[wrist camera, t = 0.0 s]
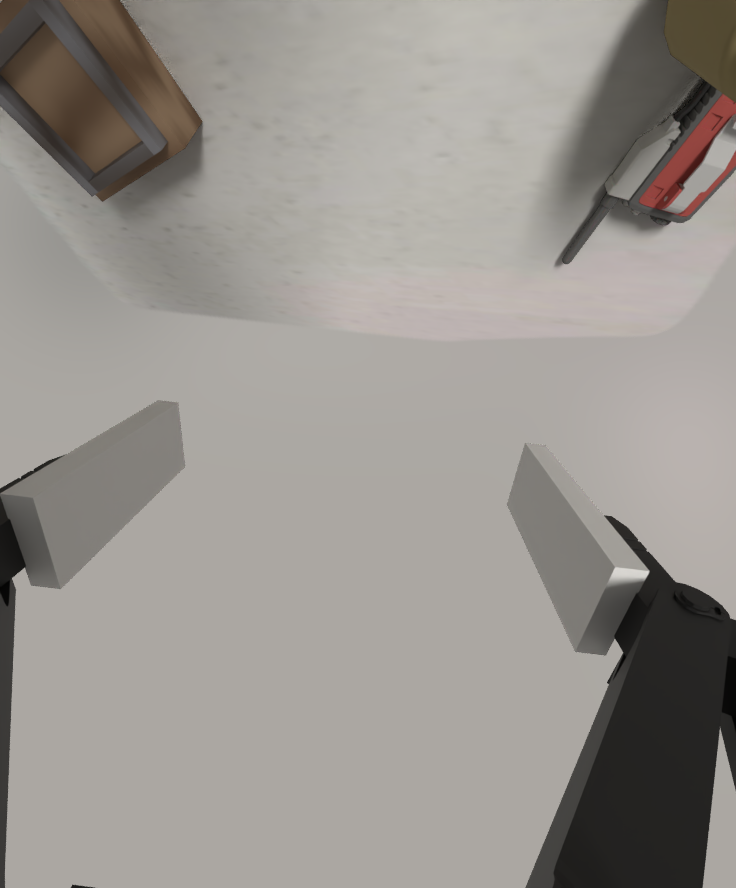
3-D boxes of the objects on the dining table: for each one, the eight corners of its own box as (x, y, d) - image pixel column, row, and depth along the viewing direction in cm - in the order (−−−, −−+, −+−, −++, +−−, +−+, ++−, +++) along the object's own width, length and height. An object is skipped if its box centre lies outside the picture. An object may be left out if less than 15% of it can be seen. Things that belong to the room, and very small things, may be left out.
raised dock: (-7, 32, 33) (-56, 63, 30) (75, -65, 28) (27, -39, 25) (122, 175, 42) (95, 210, 39) (202, 121, 37) (179, 156, 34)
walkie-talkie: (723, 5, 28) (554, 253, 45) (745, 27, 26) (559, 278, 43) (827, 43, 29) (623, 271, 46) (857, 67, 27) (631, 297, 44)
